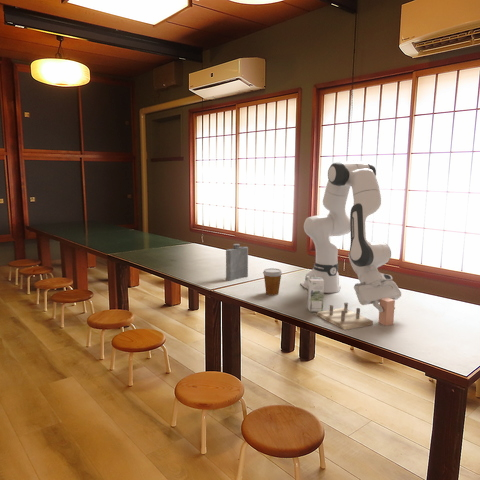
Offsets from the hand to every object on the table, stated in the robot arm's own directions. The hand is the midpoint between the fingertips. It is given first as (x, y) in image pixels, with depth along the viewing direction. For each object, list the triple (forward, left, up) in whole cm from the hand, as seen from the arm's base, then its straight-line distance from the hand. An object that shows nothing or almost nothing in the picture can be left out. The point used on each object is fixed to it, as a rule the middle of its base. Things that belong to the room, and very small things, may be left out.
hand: (387, 310), depth 163 cm
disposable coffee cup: (-56, -22, -6) cm, 60 cm away
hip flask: (-91, -26, -6) cm, 94 cm away
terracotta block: (-1, 0, -5) cm, 5 cm away
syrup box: (-26, -17, -6) cm, 31 cm away
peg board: (-11, -13, -5) cm, 18 cm away
